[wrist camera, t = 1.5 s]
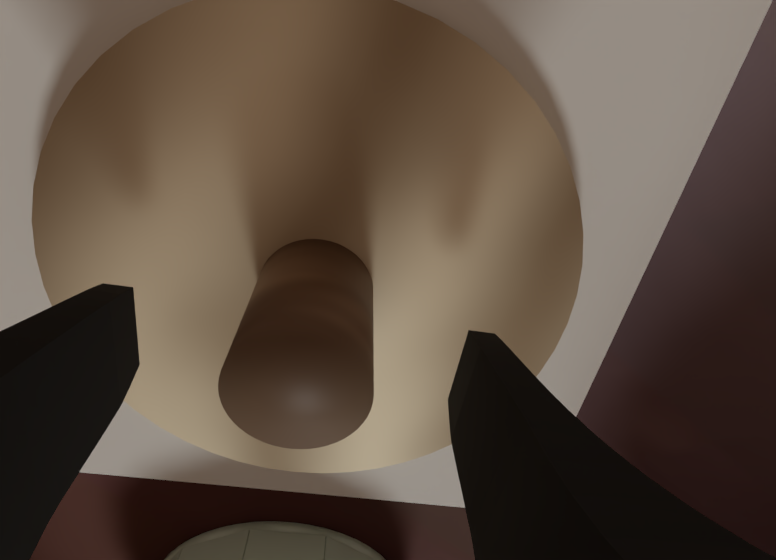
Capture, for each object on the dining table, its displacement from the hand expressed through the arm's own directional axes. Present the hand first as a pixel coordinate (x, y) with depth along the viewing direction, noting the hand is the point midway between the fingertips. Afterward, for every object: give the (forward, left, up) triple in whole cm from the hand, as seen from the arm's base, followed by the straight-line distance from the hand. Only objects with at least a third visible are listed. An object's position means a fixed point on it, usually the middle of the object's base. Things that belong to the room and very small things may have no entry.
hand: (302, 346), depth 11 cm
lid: (0, 0, -3) cm, 3 cm away
